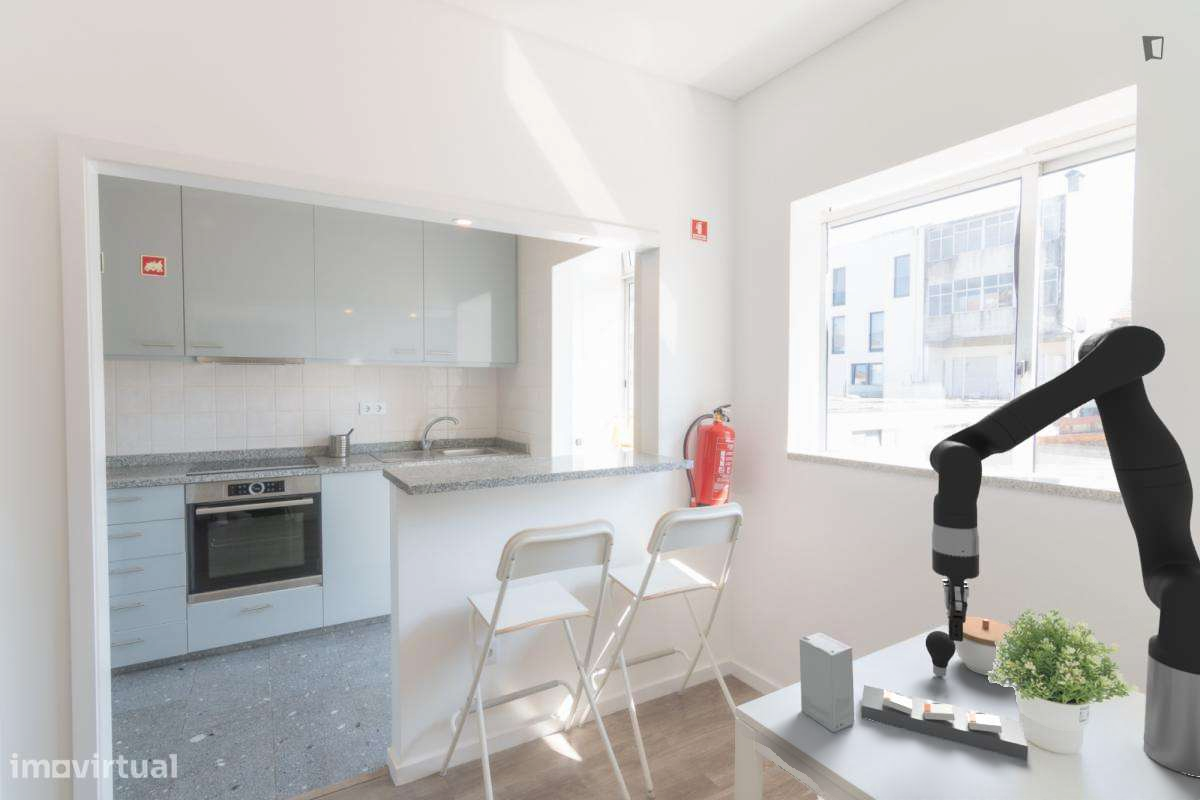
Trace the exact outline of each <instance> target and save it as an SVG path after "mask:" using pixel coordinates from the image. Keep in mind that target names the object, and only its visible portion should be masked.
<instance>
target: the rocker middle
mask: <svg viewBox="0 0 1200 800" xmlns="http://www.w3.org/2000/svg"><path fill="white" fill-rule="evenodd" d="M953 706H954V705H953V704H947V703H944V704H926V703H923V712H924V717H925V719H937V720H954V721H955V717H954V710H953Z"/></svg>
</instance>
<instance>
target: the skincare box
mask: <svg viewBox="0 0 1200 800" xmlns="http://www.w3.org/2000/svg"><path fill="white" fill-rule="evenodd" d="M853 661H854V660H853V647H852V646H850V645H847V644H845V643H843V642H841V641H838V640H836V639H834V638H832V637H830V636H828V635H827V634H824V633H822V632H816V633H814V634H810V635H807V636H804V637H802V638H800V639H799V663H800V664H799V665H800V668H799V670H800V699H801V701H800V703H801V706H800V707H801V712H803V713H804V714H806V715H807V716H808V717H810V718H812V719H813V720H814V721H816V722H817V723H819V724H821V725H822V726H824V727H825V729H828V730H829V731H831V732H833V733H834V732H835V733H836V732H837V731H840V730H842V729H846V728H849V727H851V725H852V726H854V725H855V703H854V702H855V701H854V700H855V699H854V693H855V692H854V669H853V668H854V667H853Z"/></svg>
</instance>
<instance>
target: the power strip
mask: <svg viewBox="0 0 1200 800" xmlns="http://www.w3.org/2000/svg"><path fill="white" fill-rule="evenodd" d="M884 690H886V691H889V692H892V693H895V694H897V695H900V696H903V697H905V698H908V699H911V700H912V712H911V714H908V713H905V712H903V711H900V710H897V709H895V708H892V707H889V706H887V705H884V704H883V694H884ZM923 703H926V704H945V703H943V702H939V701H934V700H930V699H926V698H922V697H918V696H913V695H908V694H904V693H900V692H897V691H891V690H887V689H882V688H880V687H879V688H878V687H874V686H870V685H865V684H864V685H863V691H862V697H861V705H860V718H861V717H862V718H861V719H863V718H867V719H871V720H874V721H873V722H875V721H878V722H877V723H879V722H881V723H880V724H883V723H884V724H885V725H887V724H888V726H891V725H892V727H895V728H899V729H903V730H906V729H907V731H911V732H915V733H919V734H923V735H926V736H929V737H935V738H939V739H942V740H946V741H950V742H954V743H957V744H961V745H966V746H969V747H973V748H978V749H981V750H985V751H989V752H993V753H998V754H999V755H1000V754H1002V755H1005V756H1009V757H1013V758H1017V759H1020V760H1025V761H1028V756H1029V755H1028V754H1029V753H1028V752H1029V746H1028V743H1027V740H1026V735H1025V732H1024V730H1023V727H1022V723H1021V720H1017V719H1012V718H1008V717H1005V716H999V715H998V716H999V720H1000V724H1001V729H1002V733H1000V732H992V731H983V730H974V729H970V727H969V721H968V715H967V713H974V714H983V715H993V716H997V715H995V714H991V713H987V712H982V711H978V710H973V709H970V708H964V707H960V706H957V705H952V706H953V710H954V717H955V721H954V720H937V719H925V717H924V712H923ZM867 719H866V720H867ZM871 720H870V721H871ZM884 724H883V725H884Z"/></svg>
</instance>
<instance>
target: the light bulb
mask: <svg viewBox="0 0 1200 800" xmlns="http://www.w3.org/2000/svg"><path fill="white" fill-rule="evenodd" d="M925 647H926V650H927V652H928V654H929V656H930V658H931V663H932V672H933V674H934V675H935V676H936V677H937V678H940V679H942V678H944V677H946V676H947V667H948V665H949V662H950V660H951V659H952V658H953V656H954V655H955V653H956V646H955V643H954V641H953V640H950V638H949V633H948V632H947V633H946V632H945V631H941V630H934V631H931V632H930V633H929V634H928V635H927V636H926V639H925Z"/></svg>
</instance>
